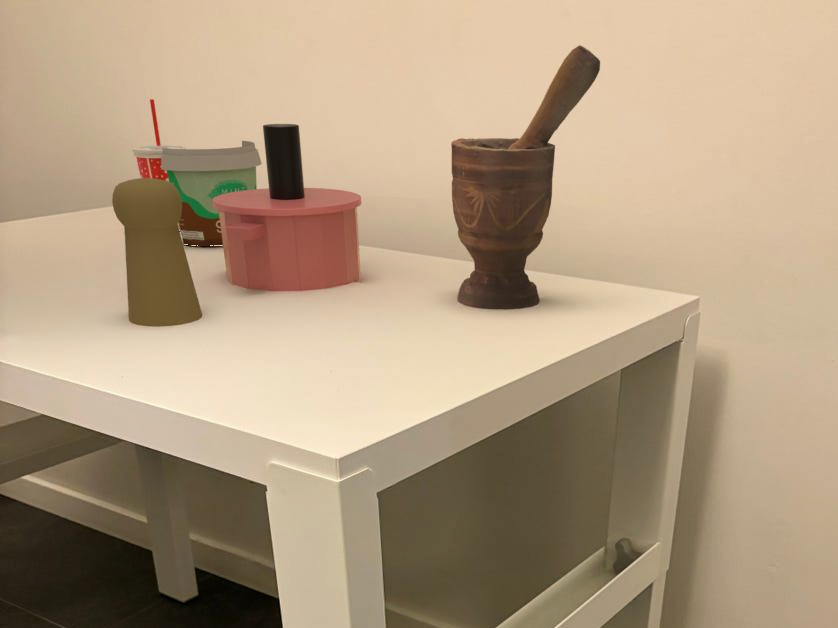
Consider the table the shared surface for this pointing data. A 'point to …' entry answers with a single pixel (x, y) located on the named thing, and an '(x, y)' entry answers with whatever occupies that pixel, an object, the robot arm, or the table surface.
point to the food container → (208, 185)
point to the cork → (155, 254)
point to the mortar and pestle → (512, 193)
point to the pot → (291, 250)
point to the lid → (285, 183)
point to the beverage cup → (153, 155)
